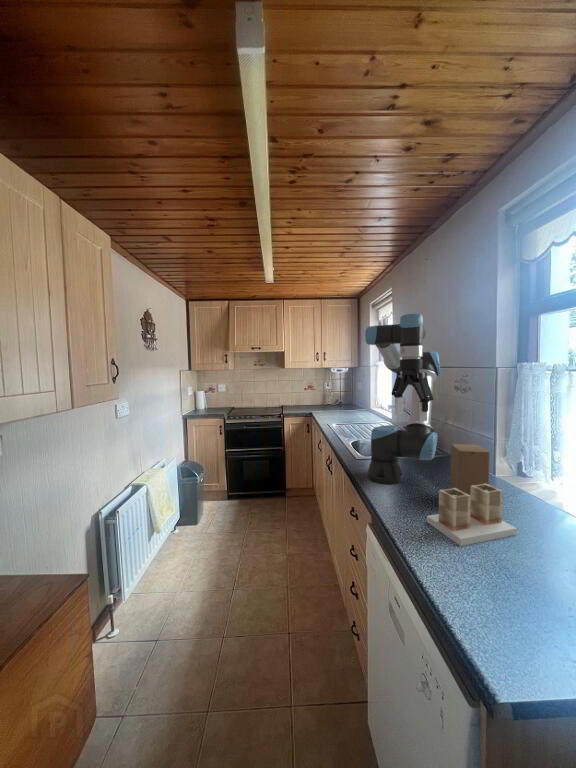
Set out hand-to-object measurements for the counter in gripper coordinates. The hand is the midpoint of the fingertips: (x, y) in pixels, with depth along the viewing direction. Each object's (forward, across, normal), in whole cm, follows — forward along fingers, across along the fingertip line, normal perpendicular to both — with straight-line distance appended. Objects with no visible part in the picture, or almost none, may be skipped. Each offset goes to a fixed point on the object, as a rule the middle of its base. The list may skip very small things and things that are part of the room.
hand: (410, 417), depth 113 cm
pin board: (+32, +20, +7) cm, 38 cm away
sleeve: (+30, +20, +1) cm, 36 cm away
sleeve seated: (+30, +20, +13) cm, 38 cm away
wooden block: (+32, +4, +22) cm, 39 cm away
